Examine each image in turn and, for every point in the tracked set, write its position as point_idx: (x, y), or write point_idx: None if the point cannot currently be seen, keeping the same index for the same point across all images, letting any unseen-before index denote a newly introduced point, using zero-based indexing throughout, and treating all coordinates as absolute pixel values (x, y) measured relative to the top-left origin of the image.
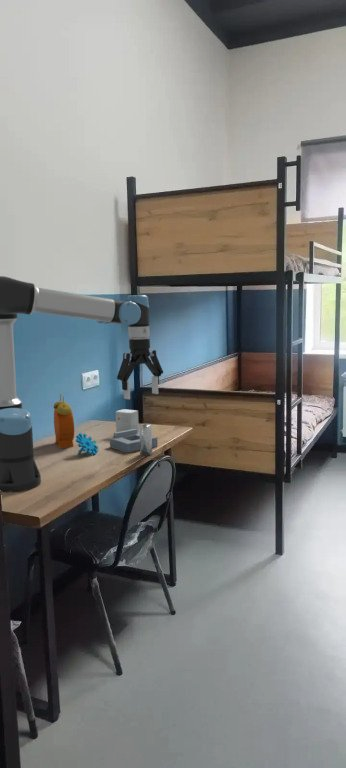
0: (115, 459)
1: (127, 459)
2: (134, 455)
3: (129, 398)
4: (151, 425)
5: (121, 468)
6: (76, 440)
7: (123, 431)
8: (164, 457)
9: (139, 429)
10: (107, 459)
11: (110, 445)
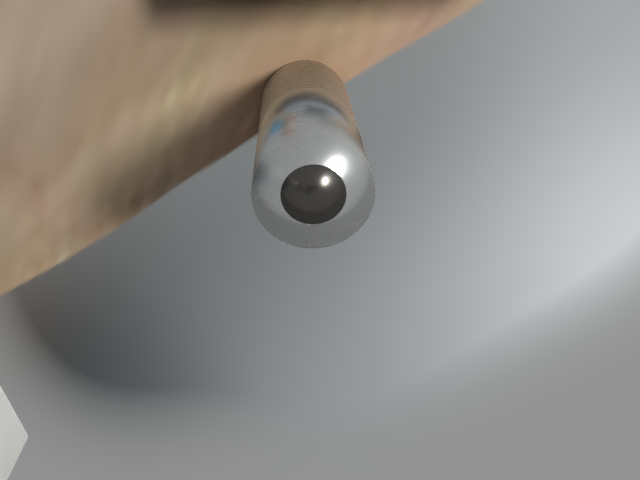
0: (61, 79)
1: (136, 132)
2: (222, 77)
3: (5, 449)
4: (359, 226)
5: (32, 264)
6: None
7: None
8: None
9: (255, 161)
10: (6, 42)
11: None
